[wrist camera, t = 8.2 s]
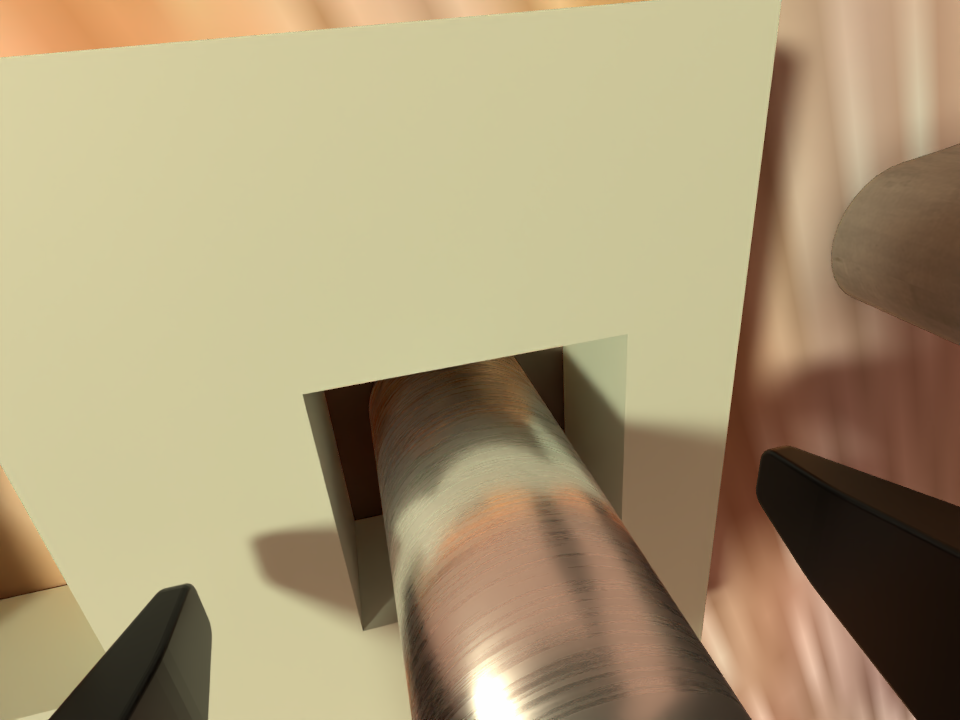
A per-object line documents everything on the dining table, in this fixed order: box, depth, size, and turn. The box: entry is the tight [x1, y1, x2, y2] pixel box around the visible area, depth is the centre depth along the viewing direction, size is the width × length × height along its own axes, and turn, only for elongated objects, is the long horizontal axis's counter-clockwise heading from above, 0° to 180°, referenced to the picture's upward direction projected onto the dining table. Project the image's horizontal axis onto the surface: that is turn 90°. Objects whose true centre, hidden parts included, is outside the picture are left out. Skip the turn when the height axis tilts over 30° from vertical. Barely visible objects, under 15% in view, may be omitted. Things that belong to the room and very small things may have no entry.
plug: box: [369, 355, 751, 720], centre depth 9 cm, size 3×3×8 cm
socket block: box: [0, 0, 782, 720], centre depth 11 cm, size 18×14×3 cm
